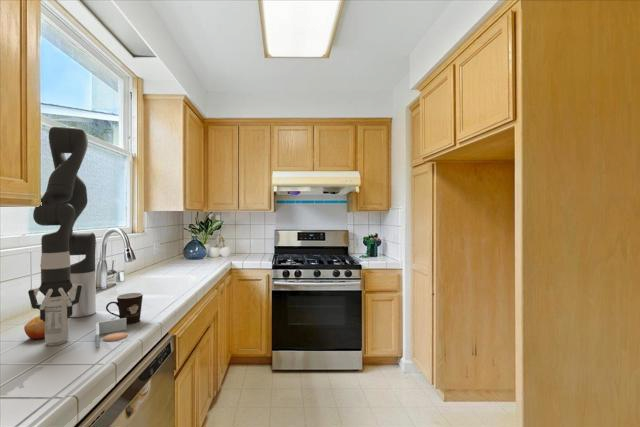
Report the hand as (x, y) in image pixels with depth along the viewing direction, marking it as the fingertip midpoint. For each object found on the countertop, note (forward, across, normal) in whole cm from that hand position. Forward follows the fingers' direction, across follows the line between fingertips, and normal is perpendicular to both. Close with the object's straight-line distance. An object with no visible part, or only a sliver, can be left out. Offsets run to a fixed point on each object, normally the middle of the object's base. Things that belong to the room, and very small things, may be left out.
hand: (56, 318), depth 113 cm
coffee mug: (+8, -20, -11) cm, 24 cm away
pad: (+8, -16, +5) cm, 18 cm away
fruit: (+8, +5, -9) cm, 13 cm away
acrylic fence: (+8, -15, +5) cm, 18 cm away
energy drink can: (+8, 0, 0) cm, 8 cm away
